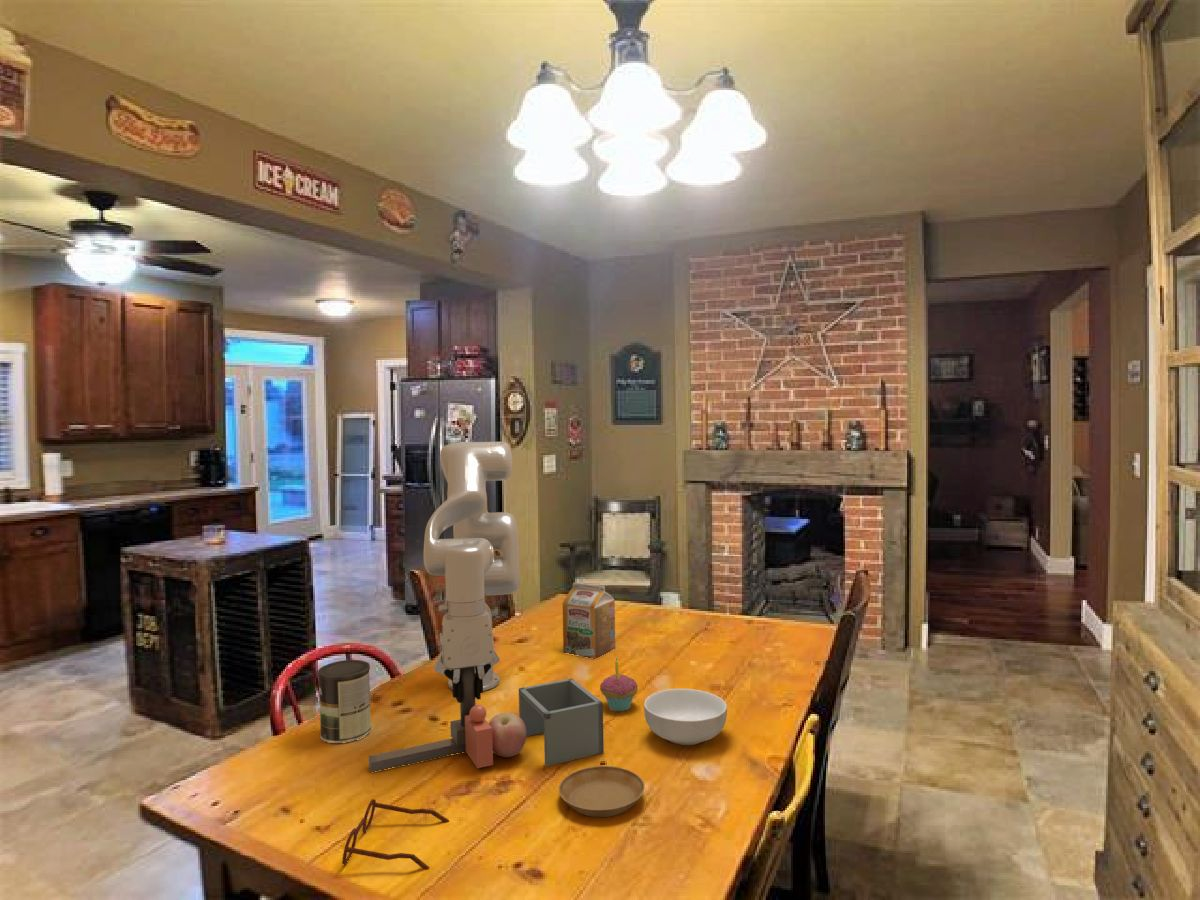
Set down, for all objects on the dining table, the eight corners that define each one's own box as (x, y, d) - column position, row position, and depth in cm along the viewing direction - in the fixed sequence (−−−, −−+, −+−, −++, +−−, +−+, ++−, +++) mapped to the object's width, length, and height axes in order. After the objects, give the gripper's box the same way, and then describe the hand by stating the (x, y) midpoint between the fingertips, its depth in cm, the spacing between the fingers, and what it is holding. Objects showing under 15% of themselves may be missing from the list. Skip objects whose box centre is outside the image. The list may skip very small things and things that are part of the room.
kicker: (450, 741, 146) (448, 662, 146) (479, 735, 149) (477, 657, 148) (469, 770, 134) (467, 684, 134) (500, 762, 137) (498, 678, 136)
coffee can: (313, 745, 148) (311, 677, 147) (328, 724, 158) (326, 660, 157) (365, 743, 149) (363, 675, 148) (376, 722, 159) (374, 658, 158)
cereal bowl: (673, 763, 138) (672, 726, 137) (629, 730, 152) (629, 697, 152) (744, 743, 146) (744, 708, 145) (696, 714, 160) (696, 682, 160)
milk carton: (615, 649, 206) (614, 582, 205) (595, 659, 197) (594, 590, 196) (584, 643, 212) (583, 578, 211) (563, 653, 203) (562, 586, 202)
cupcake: (634, 716, 160) (633, 662, 159) (596, 713, 161) (595, 660, 161) (640, 701, 168) (639, 649, 168) (604, 698, 170) (603, 648, 169)
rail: (368, 766, 138) (368, 756, 138) (504, 737, 150) (504, 727, 150) (371, 773, 136) (370, 762, 136) (509, 742, 148) (508, 733, 147)
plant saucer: (578, 834, 115) (577, 818, 115) (547, 790, 129) (546, 776, 129) (660, 811, 121) (660, 796, 121) (622, 772, 135) (622, 758, 135)
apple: (479, 761, 140) (476, 721, 139) (501, 742, 147) (498, 704, 146) (514, 768, 136) (512, 727, 136) (535, 749, 143) (532, 710, 142)
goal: (519, 735, 151) (518, 688, 150) (572, 724, 156) (571, 678, 155) (546, 766, 137) (545, 714, 137) (603, 752, 142) (602, 702, 142)
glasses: (370, 823, 120) (369, 793, 119) (449, 823, 119) (448, 793, 119) (340, 873, 107) (339, 840, 106) (429, 873, 106) (428, 839, 106)
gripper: (427, 617, 137) (430, 713, 138) (511, 606, 144) (513, 698, 145) (420, 608, 144) (422, 699, 145) (500, 598, 151) (502, 685, 152)
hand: (467, 697), depth 145 cm, fingers closed on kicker, 3 cm apart
